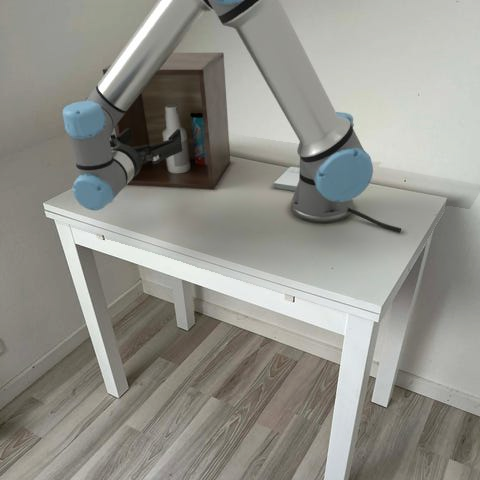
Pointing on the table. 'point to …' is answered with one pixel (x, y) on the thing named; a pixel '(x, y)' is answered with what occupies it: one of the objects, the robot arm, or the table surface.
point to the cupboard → (182, 118)
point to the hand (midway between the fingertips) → (154, 133)
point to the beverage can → (199, 138)
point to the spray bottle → (181, 159)
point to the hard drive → (288, 179)
